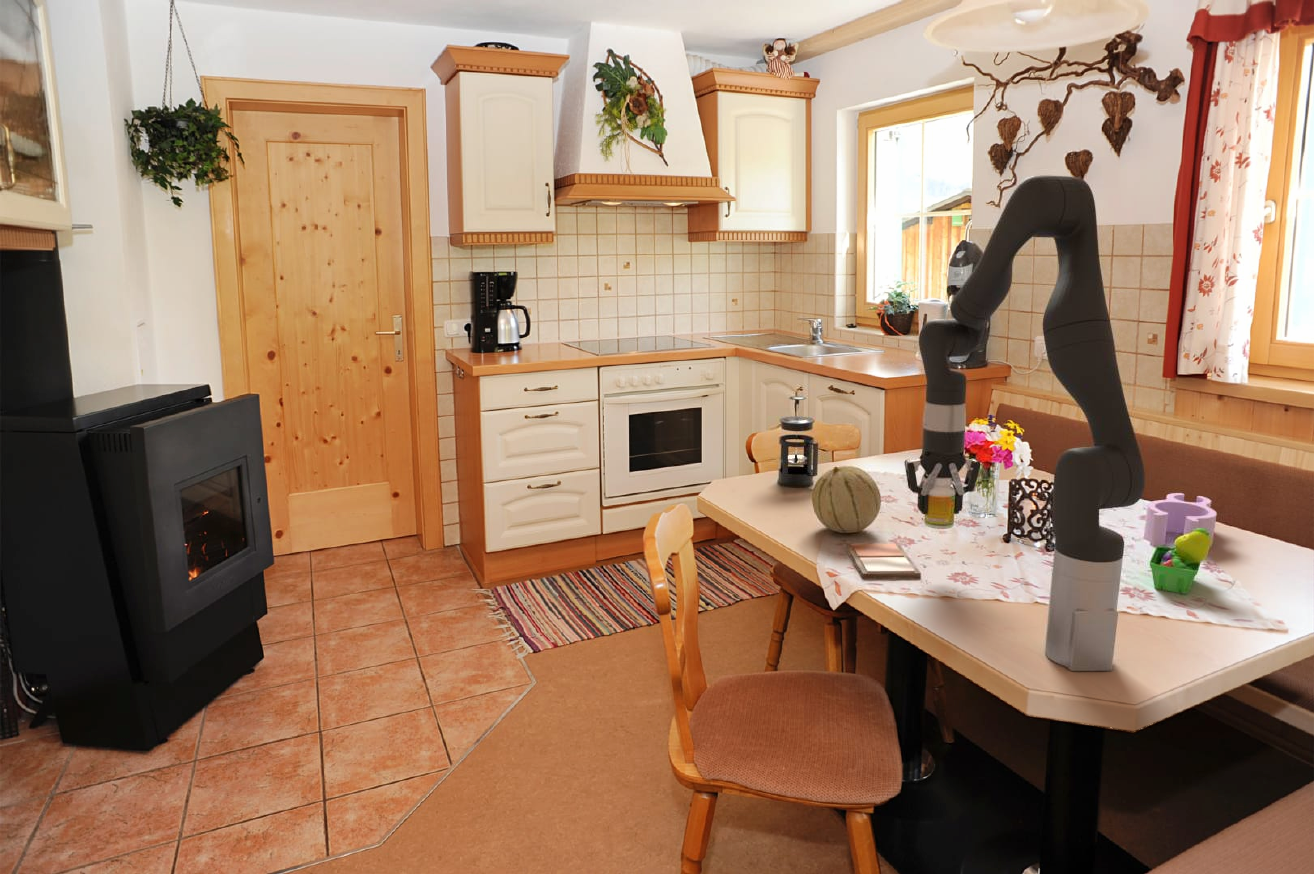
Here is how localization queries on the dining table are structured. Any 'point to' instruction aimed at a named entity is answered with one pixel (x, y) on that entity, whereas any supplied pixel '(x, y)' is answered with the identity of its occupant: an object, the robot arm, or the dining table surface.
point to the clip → (1178, 517)
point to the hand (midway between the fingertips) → (939, 512)
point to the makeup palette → (882, 560)
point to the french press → (796, 474)
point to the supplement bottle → (940, 504)
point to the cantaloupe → (846, 499)
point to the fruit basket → (1180, 561)
